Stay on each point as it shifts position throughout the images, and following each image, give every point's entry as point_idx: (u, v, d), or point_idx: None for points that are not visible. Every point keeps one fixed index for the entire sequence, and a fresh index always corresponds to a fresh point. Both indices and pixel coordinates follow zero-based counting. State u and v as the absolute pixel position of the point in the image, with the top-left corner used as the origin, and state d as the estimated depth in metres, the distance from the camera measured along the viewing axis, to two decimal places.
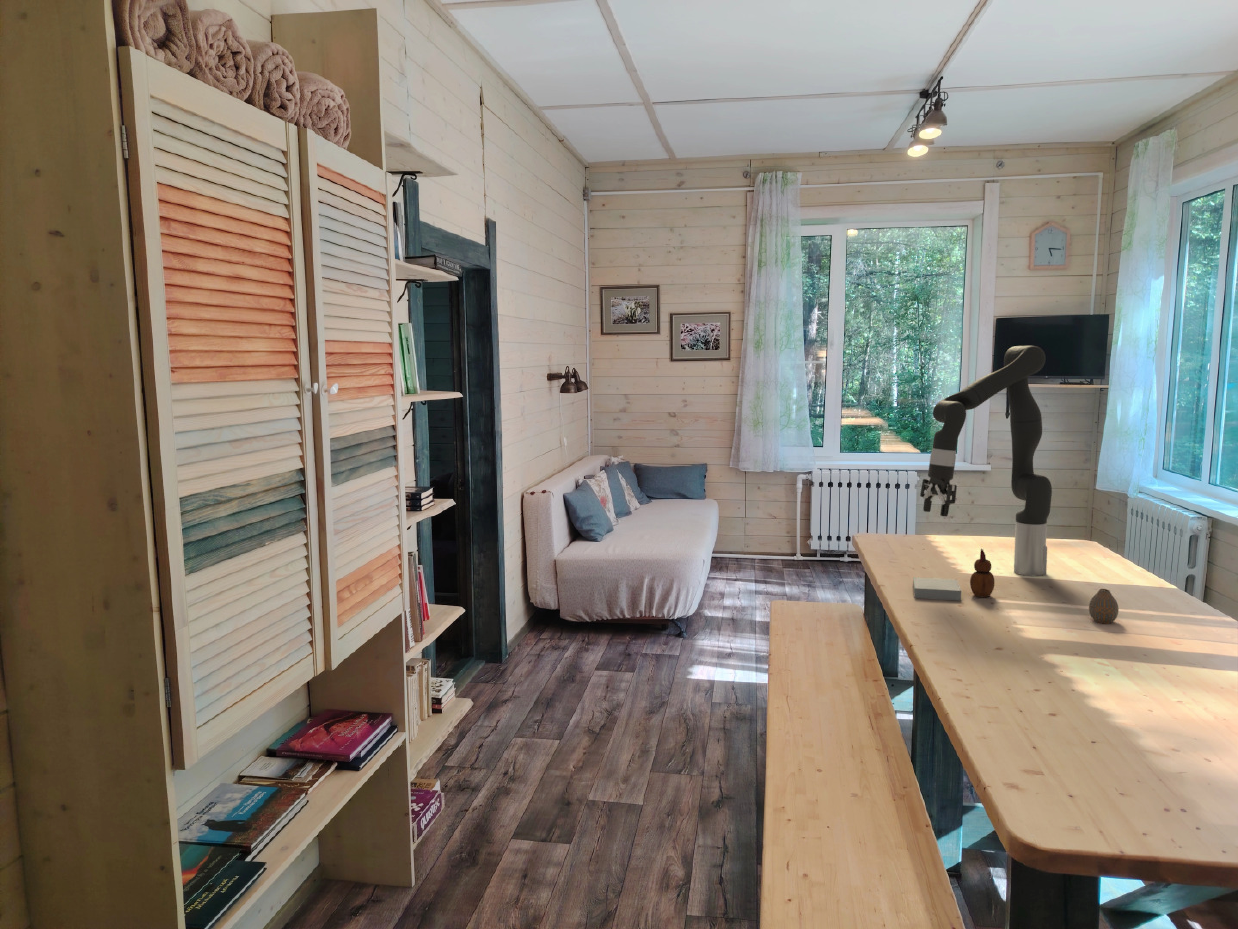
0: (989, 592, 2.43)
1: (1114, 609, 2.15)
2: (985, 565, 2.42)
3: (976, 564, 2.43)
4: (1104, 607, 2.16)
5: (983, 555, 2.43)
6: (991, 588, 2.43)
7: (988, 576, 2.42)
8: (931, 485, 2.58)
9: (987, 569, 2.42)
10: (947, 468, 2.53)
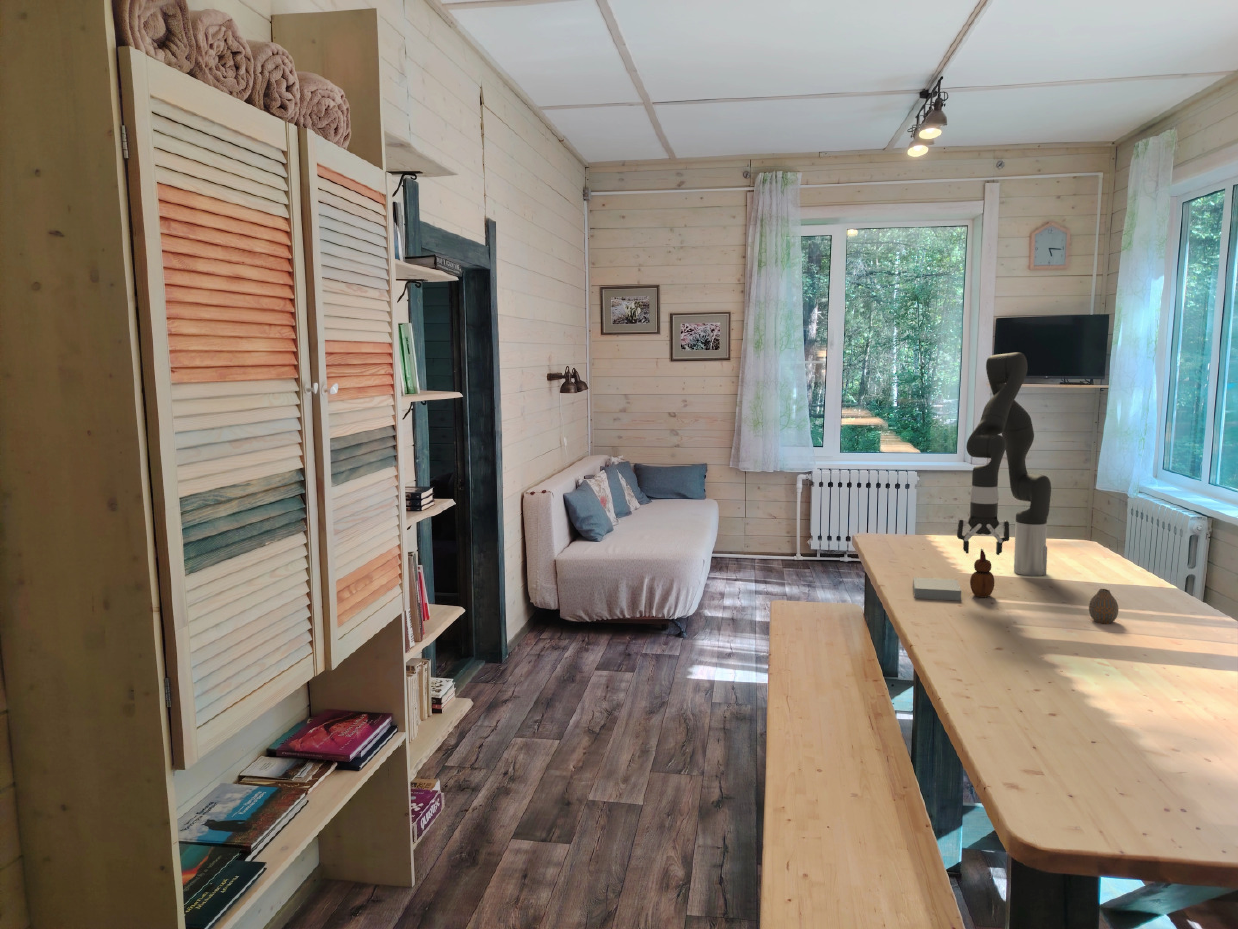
0: (990, 592, 2.43)
1: (1114, 609, 2.15)
2: (985, 565, 2.42)
3: (976, 564, 2.43)
4: (1104, 607, 2.16)
5: (983, 555, 2.43)
6: (991, 588, 2.43)
7: (988, 576, 2.42)
8: (979, 525, 2.41)
9: (987, 569, 2.42)
10: (997, 505, 2.40)
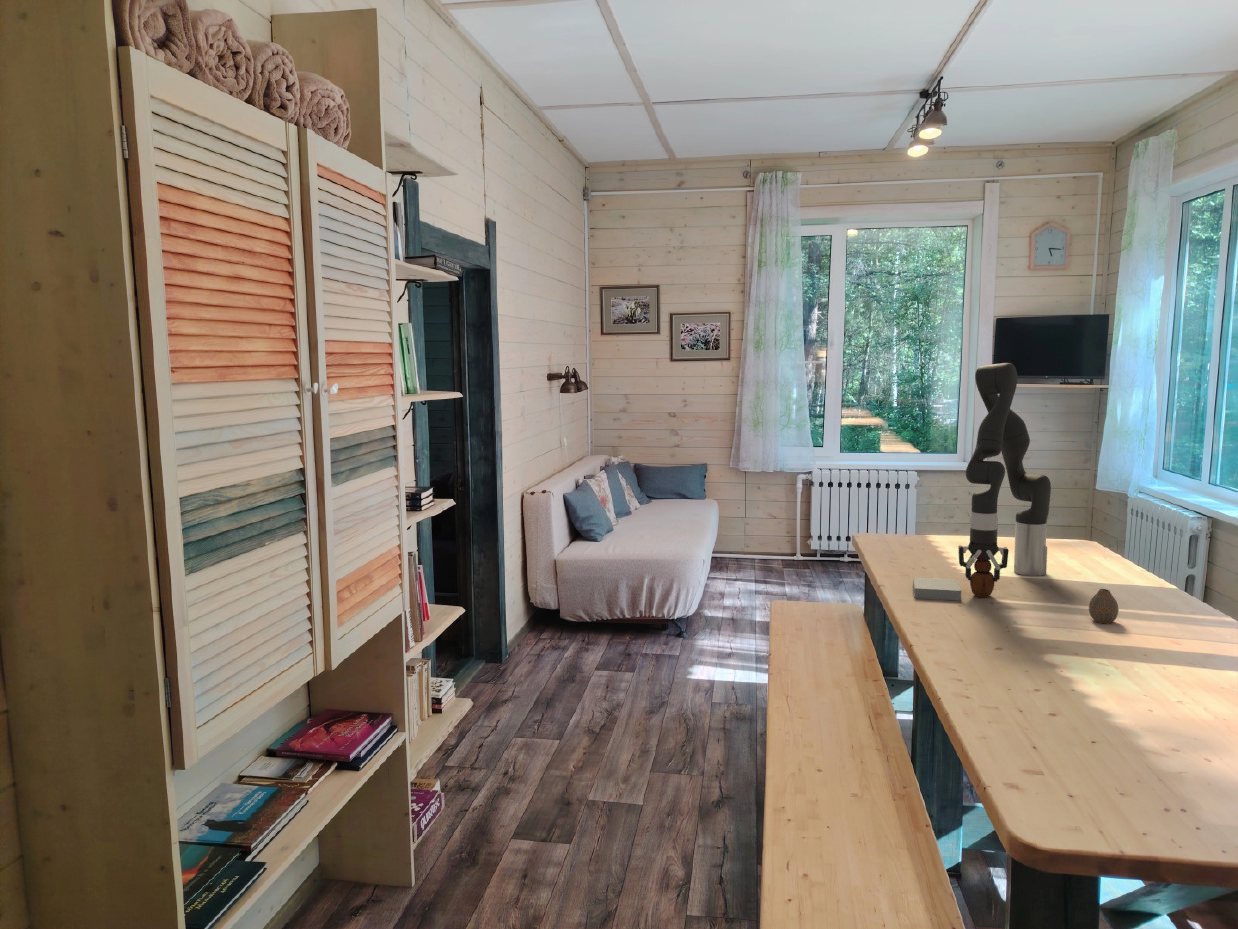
0: (990, 592, 2.43)
1: (1114, 609, 2.15)
2: (985, 565, 2.42)
3: (976, 564, 2.43)
4: (1104, 607, 2.16)
5: None
6: (991, 588, 2.43)
7: (988, 576, 2.42)
8: (979, 551, 2.42)
9: (987, 569, 2.42)
10: None
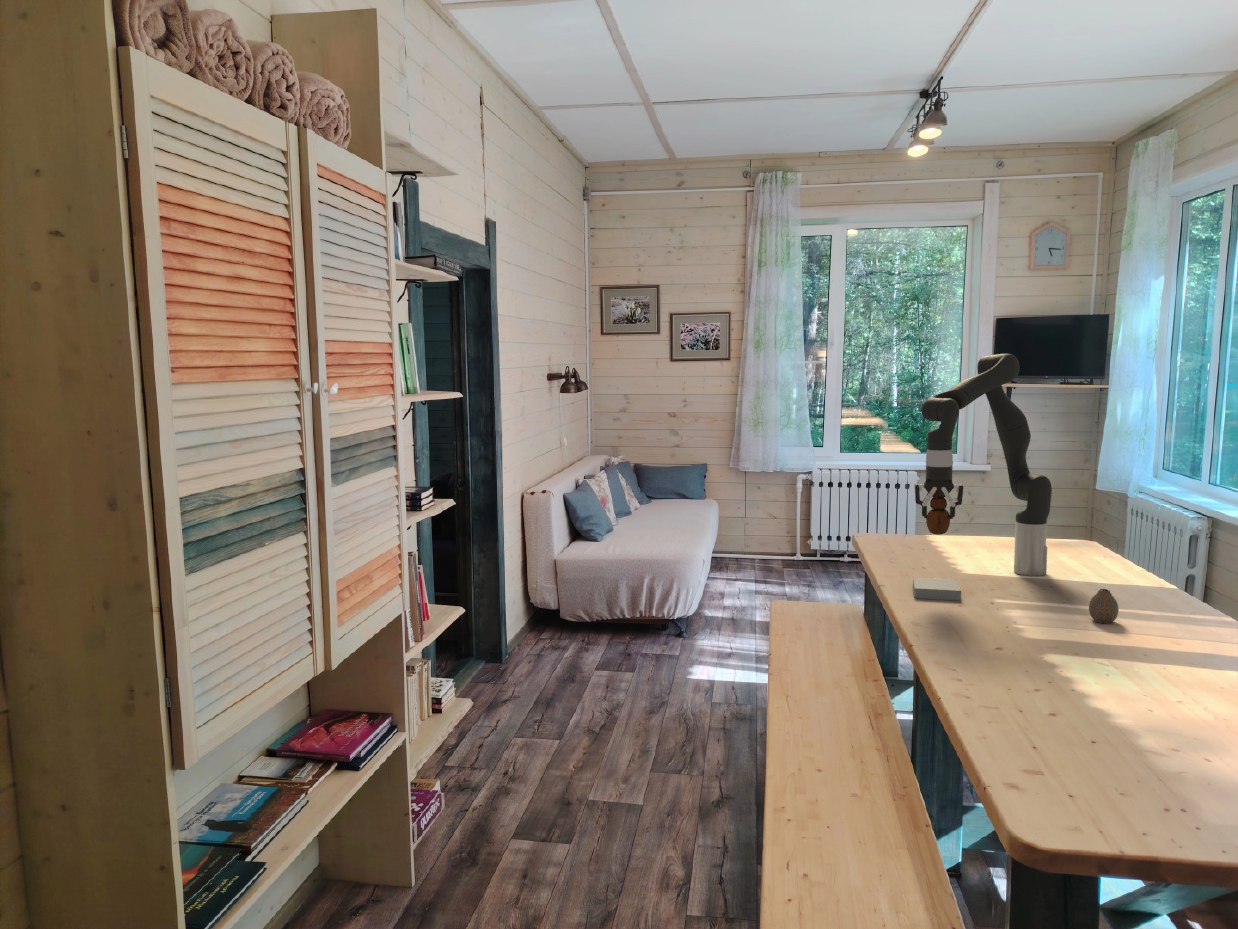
0: (945, 529, 2.44)
1: (1114, 609, 2.15)
2: (940, 502, 2.43)
3: (932, 501, 2.45)
4: (1104, 607, 2.16)
5: None
6: (947, 525, 2.44)
7: (943, 513, 2.44)
8: (935, 489, 2.44)
9: (942, 506, 2.44)
10: None
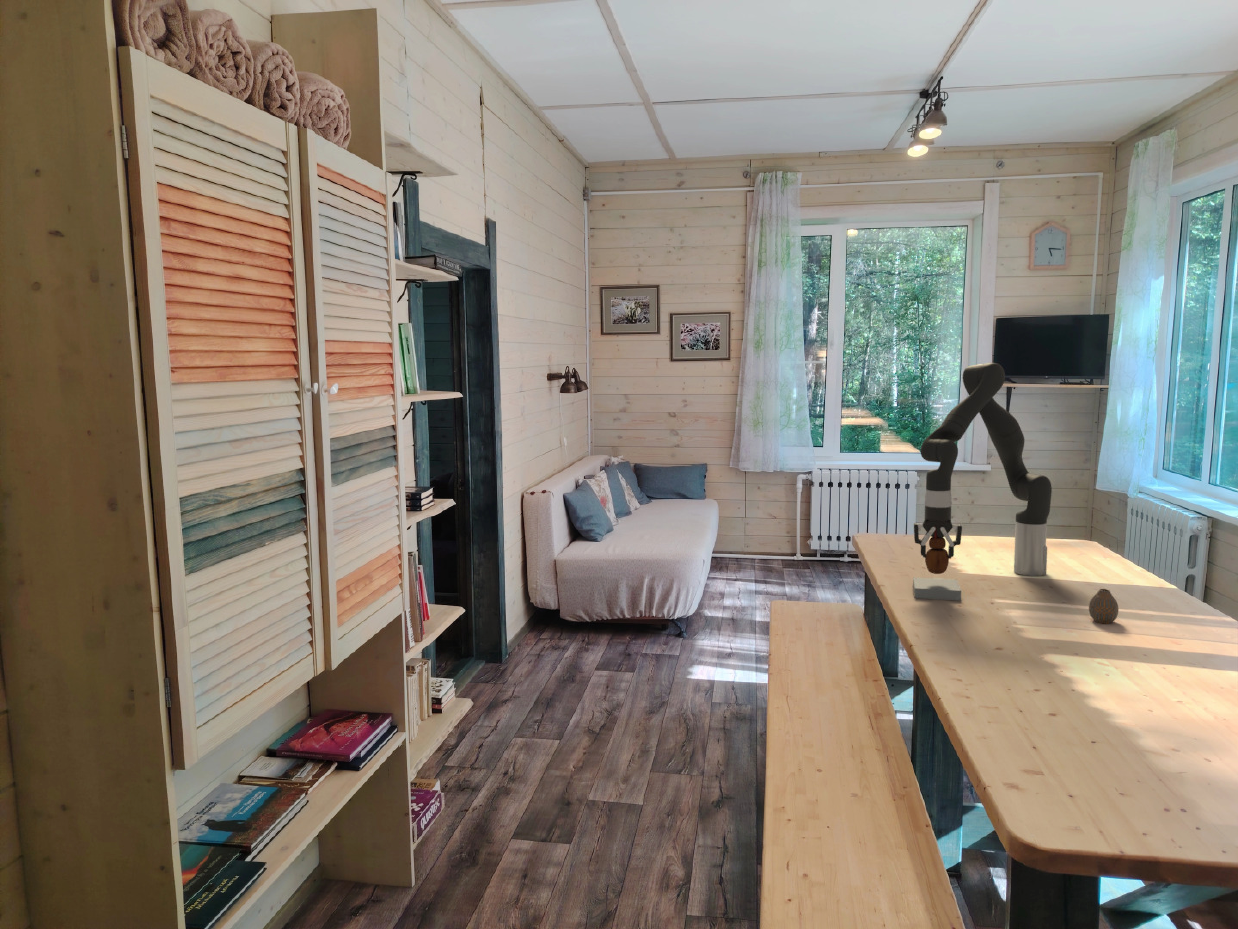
0: (944, 568, 2.46)
1: (1114, 609, 2.15)
2: (939, 542, 2.45)
3: (931, 541, 2.47)
4: (1104, 607, 2.16)
5: None
6: (945, 565, 2.46)
7: (942, 553, 2.45)
8: (933, 528, 2.45)
9: (941, 546, 2.45)
10: None
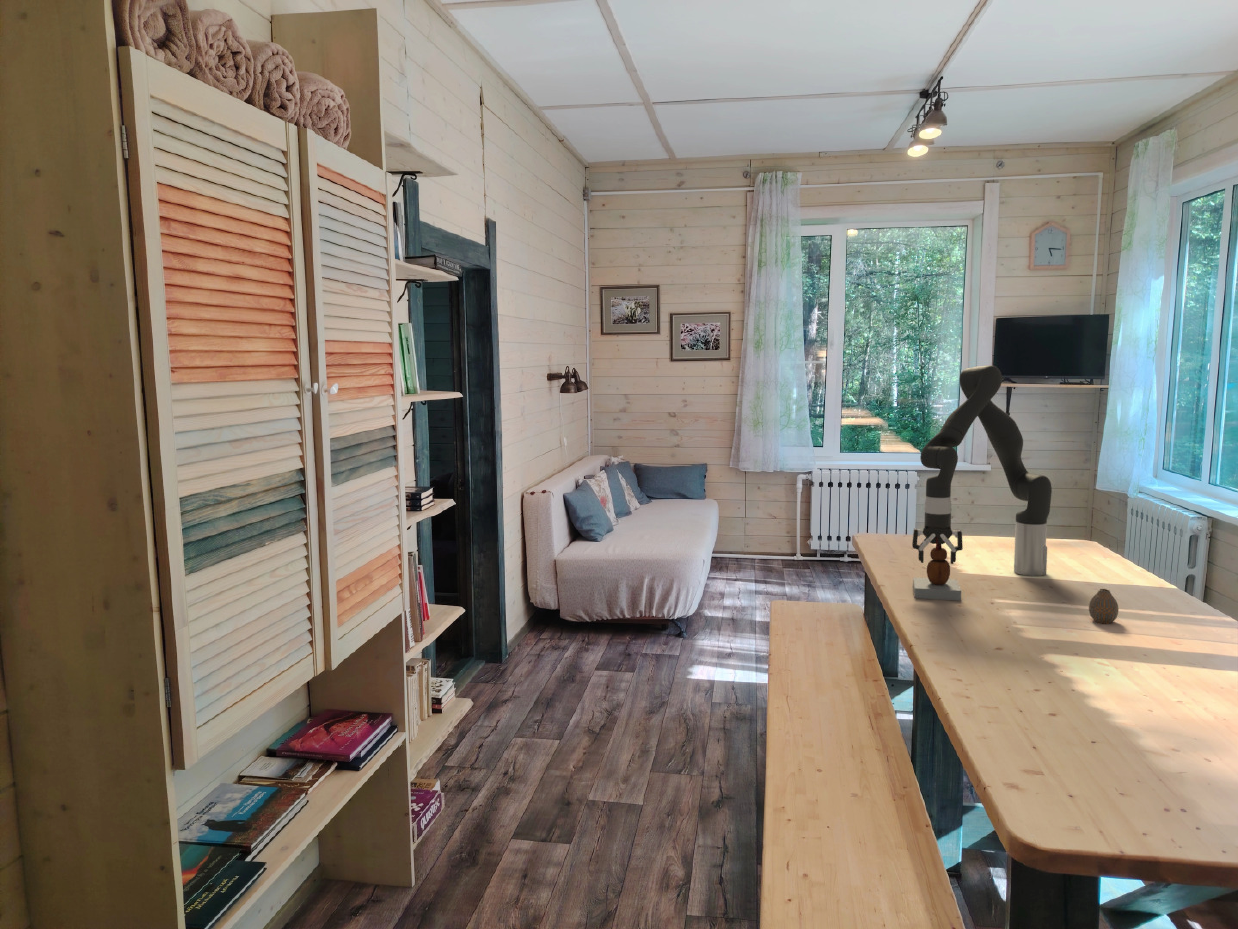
0: (945, 580, 2.46)
1: (1114, 609, 2.15)
2: (941, 553, 2.45)
3: (932, 552, 2.47)
4: (1104, 607, 2.16)
5: None
6: (947, 576, 2.46)
7: (944, 564, 2.46)
8: (933, 535, 2.46)
9: (943, 557, 2.46)
10: (950, 515, 2.45)
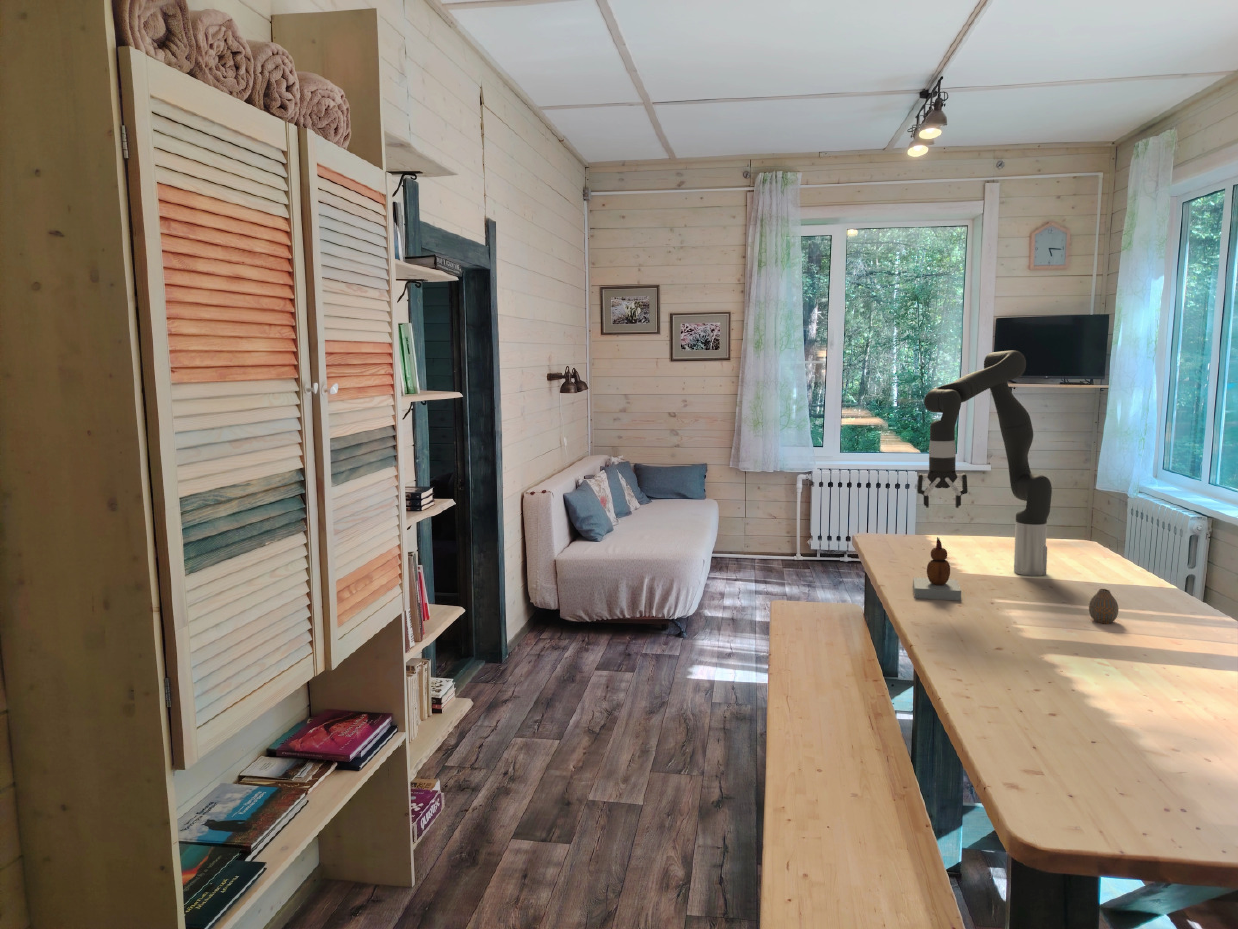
0: (946, 580, 2.46)
1: (1114, 609, 2.15)
2: (941, 553, 2.45)
3: (932, 552, 2.47)
4: (1104, 607, 2.16)
5: (939, 543, 2.47)
6: (947, 576, 2.46)
7: (944, 564, 2.46)
8: (938, 479, 2.46)
9: (943, 557, 2.46)
10: (955, 458, 2.45)
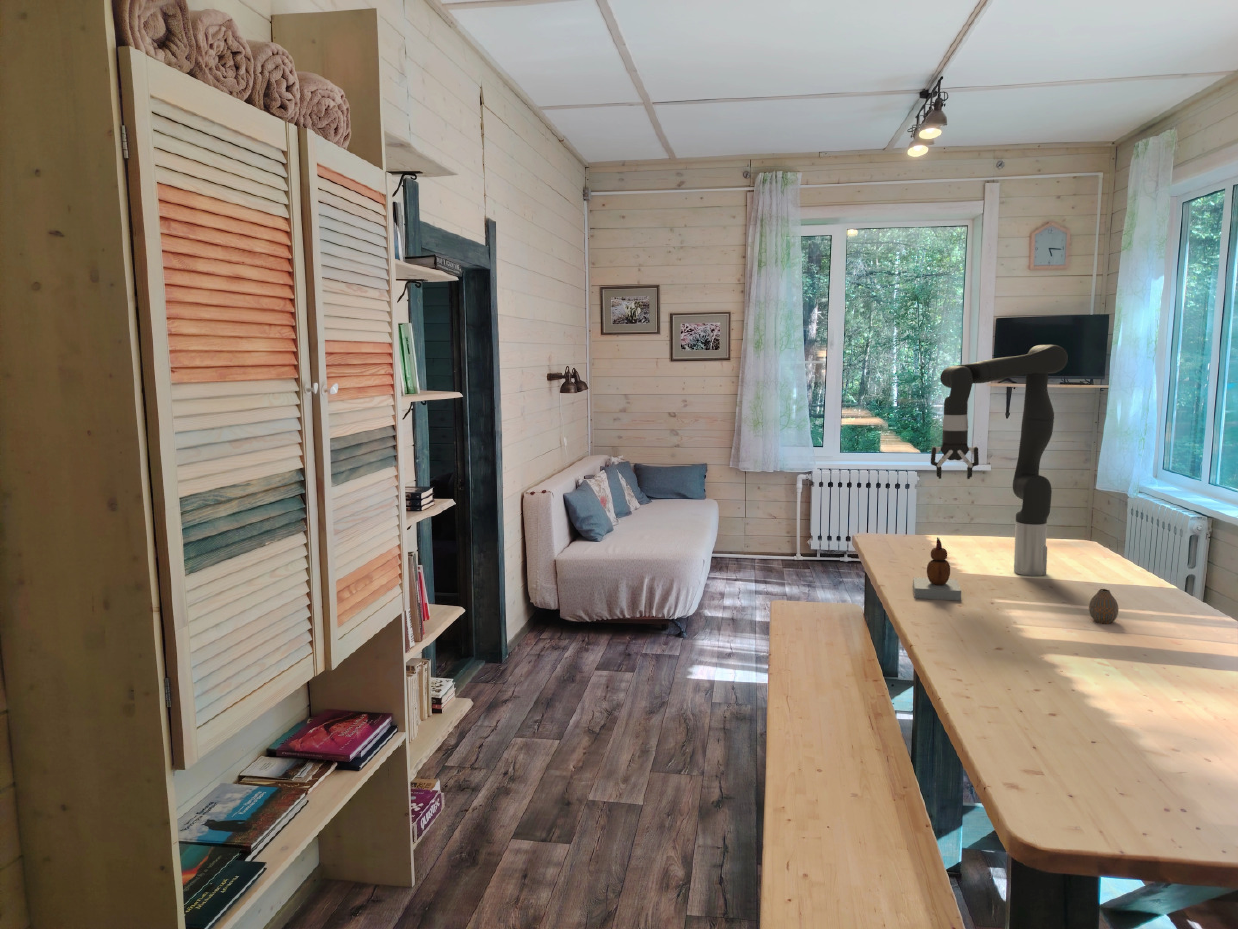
0: (946, 580, 2.46)
1: (1114, 609, 2.15)
2: (941, 553, 2.45)
3: (932, 552, 2.47)
4: (1104, 607, 2.16)
5: (939, 543, 2.47)
6: (947, 576, 2.46)
7: (944, 564, 2.46)
8: (951, 451, 2.59)
9: (943, 557, 2.46)
10: (967, 432, 2.58)
